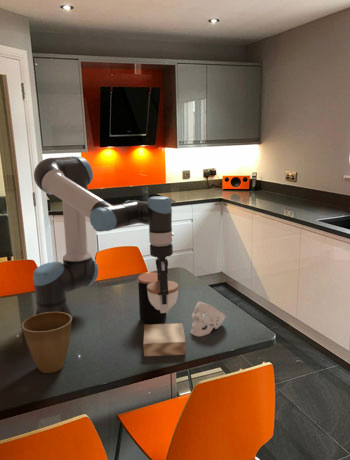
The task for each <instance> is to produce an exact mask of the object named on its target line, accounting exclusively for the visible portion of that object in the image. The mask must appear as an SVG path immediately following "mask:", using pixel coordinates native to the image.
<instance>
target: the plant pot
mask: <svg viewBox="0 0 350 460" xmlns="http://www.w3.org/2000/svg"><path fill="white" fill-rule="evenodd" d="M72 322H73V320H72V318H71V316H70V315H69V314H67V313H63V312H46V313H41V314H37V315H32V316H30V317H28V318H26V319H25V320H24V321H23V322H22V324H21V328H22V331H23V336H24V339H25V342H26V345H27V347H28V350H29V352H30V354H31V357H32V360H33V362H34V363H35V365H36V367H37V368H38V370H39V371H40V372H41V373H42V374H43V373H44V374H52V373H57V372H59V371H60V370H62V369H63V367H64V364H65V361H66V358H67V354H68V349H69V345H70V339H71V332H72Z"/></svg>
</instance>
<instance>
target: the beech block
mask: <svg viewBox="0 0 350 460" xmlns="http://www.w3.org/2000/svg"><path fill="white" fill-rule="evenodd" d="M143 327H144V329H143V357H159V356H161V357H162V356H180V355H187V353H186V351H187V350H186V348H187V347H186V337H185V330H184V325H183V323H181V322H180V323H179V322H178V323H176V322H175V323H160V324H153V325H148V324H144V326H143Z"/></svg>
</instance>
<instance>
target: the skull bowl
mask: <svg viewBox="0 0 350 460" xmlns="http://www.w3.org/2000/svg"><path fill="white" fill-rule="evenodd" d="M196 303H197V304H196V305H195V307H194V309H193V311H192V315H191V319H192V320H193V321H192V324H191V327H192V328H191V330H190V334H191V335H192V336H195V337H203V336H207V335H209V334H210V333H211V332H212V331H213V329H214V330H217V329H219V328H220V327H221V326H222V324H223V322H224V320H225V319H226V315H225V314H224V313H223V312H221V311H220V310H218V309H217V308H216V307H214V306H212V305H211V304H208V303H205V302H202V301H198V302H196ZM203 328H204V329H203Z"/></svg>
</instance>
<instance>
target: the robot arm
mask: <svg viewBox="0 0 350 460" xmlns="http://www.w3.org/2000/svg"><path fill="white" fill-rule="evenodd" d="M33 178H34V181H35V185H36V186H37V187H38V188H39V189H40V190H42V191H41V192H44V193H46V194H47V195H53V196H55V197H56V198H58V199H60V200H62V211H63V228H64V238H65V239H64V240H65V252H66V253H65V254H64V255H63V257H62V262H63V263H62V262H60V261H51V262H47V263H43V264H41V265H39V266H38V267H36V268H35V269H34V271H33V275H32V279H33V280H32V281H33V286H34V287H33V288H34V296H35V310H34V315H37V314H41V313H46V312H63V313H67V314H69V315H70V316H71V318H72V321H73V319H74V318H73V317H74V316H73V312H72V310H71V307H70V306H69V303H68V301H67V294H68V293H70V292H73V291H76V290H79V289H81V288H85V287H88V286H89V285H92V284H93V283H95V282H96V281H97V279H98V276H99V266H98V263H97V261H96V259H94V258H93V257H92V254H91V253H90V252H89V250H88V239H87V238H88V237H87V223H86V217H87V218H89V222H90V225H91V226H92V228H93V230H94V231H96V232H110V231H112V230H116V229H120V228H124V227H127V226H128V227H129V226H133V225H136V224H144V225H148V234H149V235H148V237H149V243H150V245H149V255H150V256H151V257H154V258H156V259H155V265H156V271H157V272H156V273H157V277H158V281H159V282H160V293H158V295H160V313H166V314H169V311H170V309H169V307H168V294H169V292H168V281H169V280H168V274H169V273H168V272H169V270H168V269H169V268H168V267H169V261H168V257H171V256H172V255H173V252H174V251H173V248H174V247H173V244H172V242H173V236H175V233H173V231H172V230H173V226H172V221H173V219H172V217H173V216H172V215H173V214H172V212H173V210H172V201H171V198H170V197H168V196H164V195H162V196H159V195H158V196H156V195H155V196H151V197H149V198H148V199H147V201H142V200H138V199H137V200H136V199H133V200H129V199H128V200H126V201H124V202H123V203H119V204H112V203H109V202H107V201H105V200H104V199H103V198H100V197H99V196H97V195H96V194H94V193H93V192H91V191H90V190H88V186H89V185H90V184H91V183H92V181H93V178H94V172H93V169H92V165H91V164H90V163H89V162H88V160H87V159H85V158H84V157H83V156H73V155H72V156H64V157H61V156H60V157H48V158H45V159H43V160H41V161H40V162H38V163H37V165H36V166H35V168H34V171H33ZM34 315H33V316H34Z"/></svg>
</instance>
